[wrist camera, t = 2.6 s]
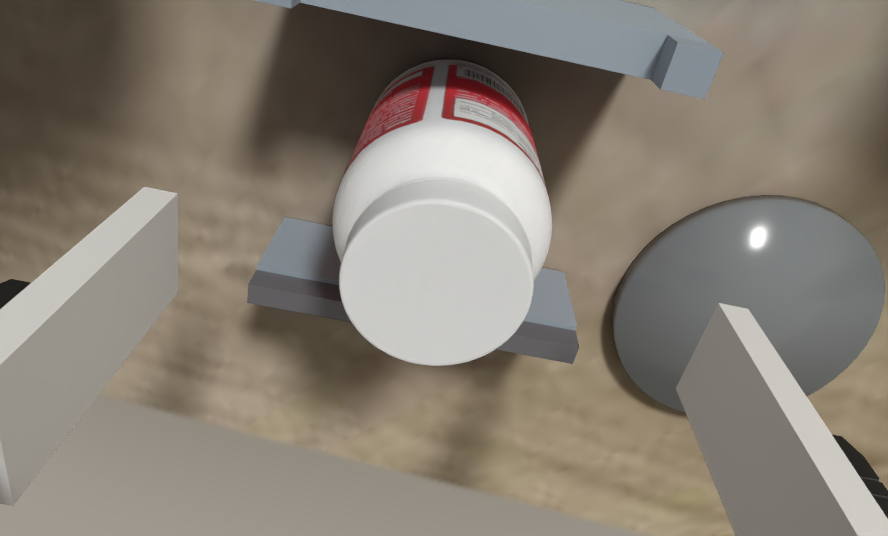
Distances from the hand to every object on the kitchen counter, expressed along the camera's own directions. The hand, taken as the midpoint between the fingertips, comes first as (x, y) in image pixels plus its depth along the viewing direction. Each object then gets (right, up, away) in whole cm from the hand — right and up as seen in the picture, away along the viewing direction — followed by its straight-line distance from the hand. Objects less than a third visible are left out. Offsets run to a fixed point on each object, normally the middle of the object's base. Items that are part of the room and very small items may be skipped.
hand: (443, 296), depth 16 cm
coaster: (+13, -1, +13) cm, 18 cm away
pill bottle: (0, +6, +9) cm, 11 cm away
